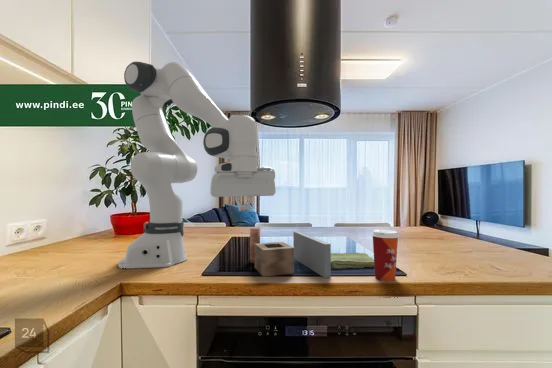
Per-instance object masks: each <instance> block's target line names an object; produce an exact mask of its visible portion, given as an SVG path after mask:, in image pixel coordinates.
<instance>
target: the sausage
mask: <svg viewBox="0 0 552 368" xmlns="http://www.w3.org/2000/svg"><path fill="white" fill-rule="evenodd" d="M257 243H261V228H260V227H250V228H249V262H250V263H252V264H255V244H257Z"/></svg>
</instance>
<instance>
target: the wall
mask: <svg viewBox="0 0 552 368" xmlns="http://www.w3.org/2000/svg"><path fill="white" fill-rule="evenodd" d="M292 238H293V240H292V241H293V244H292V245H293V246H292V247H293V248H294V260H295V261H297V262H299V263H300V264H302V265H303V266H305V267H307V268H308V269H309V270H311V271H313V272H314V273H316V274H318V275H320V276H321V277H322V278H325V279H327V278H331V269H332V268H331V253H332V252H331V250H332V249H331V247H332V246H331V244H332V243H329V242H327V241H324V240H321V239H319V238H316V237H314V236H311V235H308V234H306V233H303V232H301V231H298V230H297V231H293V237H292Z"/></svg>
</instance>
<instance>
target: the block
mask: <svg viewBox="0 0 552 368" xmlns="http://www.w3.org/2000/svg"><path fill="white" fill-rule="evenodd" d="M254 269H255V270H256V271H257V272H258V273H259V274H260V275H261V276H262V277H263V278H264V277H272V276H281V275H292V274H294V273H295V259H294V248H293V246H291V245H290V244H288V243H286V242H284V241H271V242H260V243H257V244H255V263H254Z"/></svg>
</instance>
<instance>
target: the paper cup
mask: <svg viewBox="0 0 552 368" xmlns="http://www.w3.org/2000/svg"><path fill="white" fill-rule="evenodd" d="M398 233H399V232H398V231H396V230H393V229H374V230H373V231H372V233H371V236H372V244H373V245H372V248H373V249H372V250H373V251H372V252H373V259H374V268H373V269H374V278H375V279H376V280H378V281H382V282H393V281H395V280H396V273H397V272H396V271H397V256H398V240H399V237H400V235H399V234H398Z"/></svg>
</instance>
